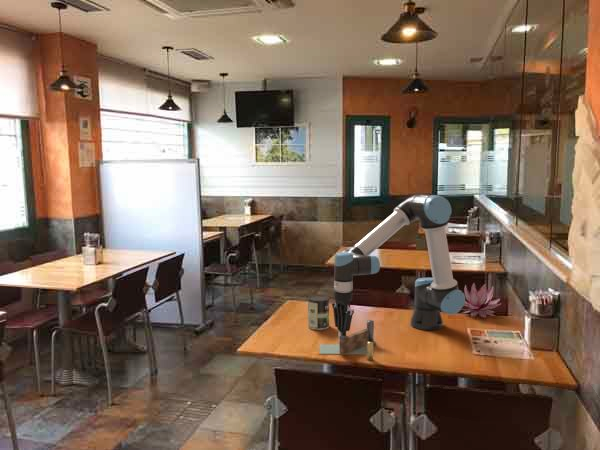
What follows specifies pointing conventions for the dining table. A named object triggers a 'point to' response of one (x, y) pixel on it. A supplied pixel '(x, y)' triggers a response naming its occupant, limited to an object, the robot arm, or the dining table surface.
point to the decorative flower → (480, 301)
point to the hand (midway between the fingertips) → (341, 345)
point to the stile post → (369, 350)
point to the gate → (353, 341)
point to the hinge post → (371, 331)
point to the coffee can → (318, 312)
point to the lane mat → (336, 349)
